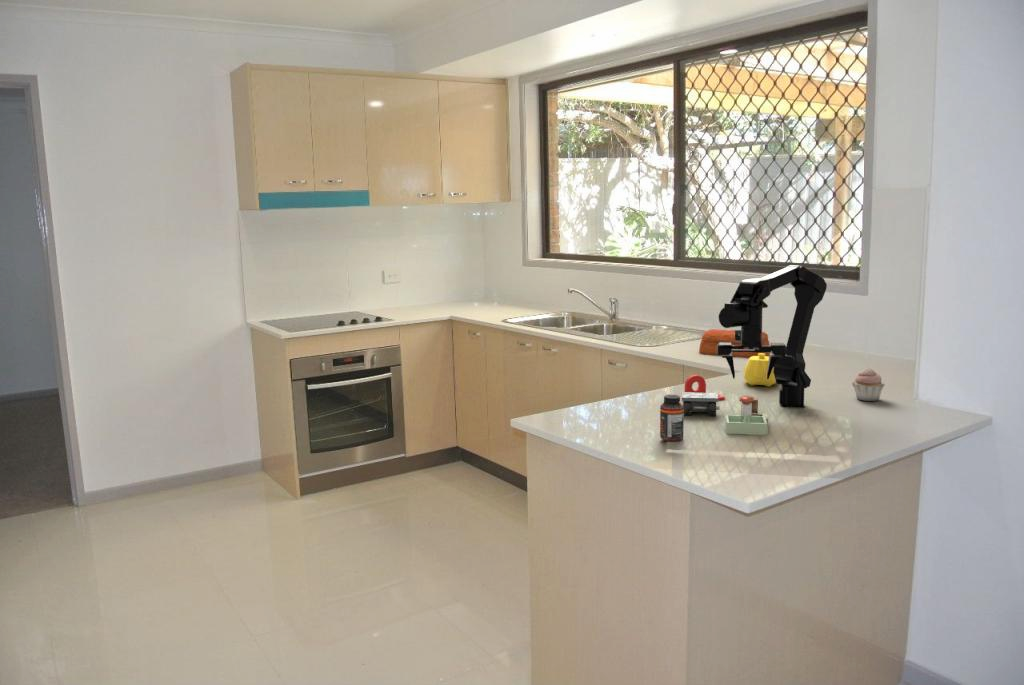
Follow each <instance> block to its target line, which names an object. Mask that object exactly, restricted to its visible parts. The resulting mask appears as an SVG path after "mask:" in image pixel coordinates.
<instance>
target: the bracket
mask: <svg viewBox="0 0 1024 685" xmlns="http://www.w3.org/2000/svg"><path fill="white" fill-rule="evenodd" d="M706 382H707V381H706V380H705V379H704V377H703V376H700V375H697V374H693V375H690V376H689V377H687V379H686V380H685V382H684V392H694V393H707V383H706ZM694 383H697V384H698V386H697V388H696V389H693V385H694ZM717 394H718V401H724V399H725V400H726V396H724V395H722V394H719V393H717Z"/></svg>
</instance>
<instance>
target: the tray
mask: <svg viewBox="0 0 1024 685" xmlns="http://www.w3.org/2000/svg"><path fill="white" fill-rule="evenodd" d="M725 432H726V435H727V434H729V435H731V434H733V435H754V436H755V435H759V436H760V435H761V436H767V435H768V426H767V421H766V418H765V416H751V423H745V422H741V414H740V415H739V414H738V415H737V414H725Z"/></svg>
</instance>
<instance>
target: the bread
mask: <svg viewBox="0 0 1024 685" xmlns="http://www.w3.org/2000/svg"><path fill="white" fill-rule="evenodd" d="M735 330H736V329H735ZM735 330H733V329H732V330H727V329H715V328H714V329H708V330H707V331H704V333H703V334H702V336H701V340H700V342H699V349H698V350H699V351H698V353H699V354H701V355H712V356H718V355H717V344H718V343H719V342H725V343H731V344H732V345H734V346H741V345H740V342H735ZM770 345H771V343H770V341H769V334H768V333H766V332H765V331H762V346H770ZM744 349H747V348H744ZM759 353H764V354H766V355H765V356H768V357H769V353H770V352H732V355H733V357H738V358H750V357H752V356H758V354H759Z"/></svg>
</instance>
